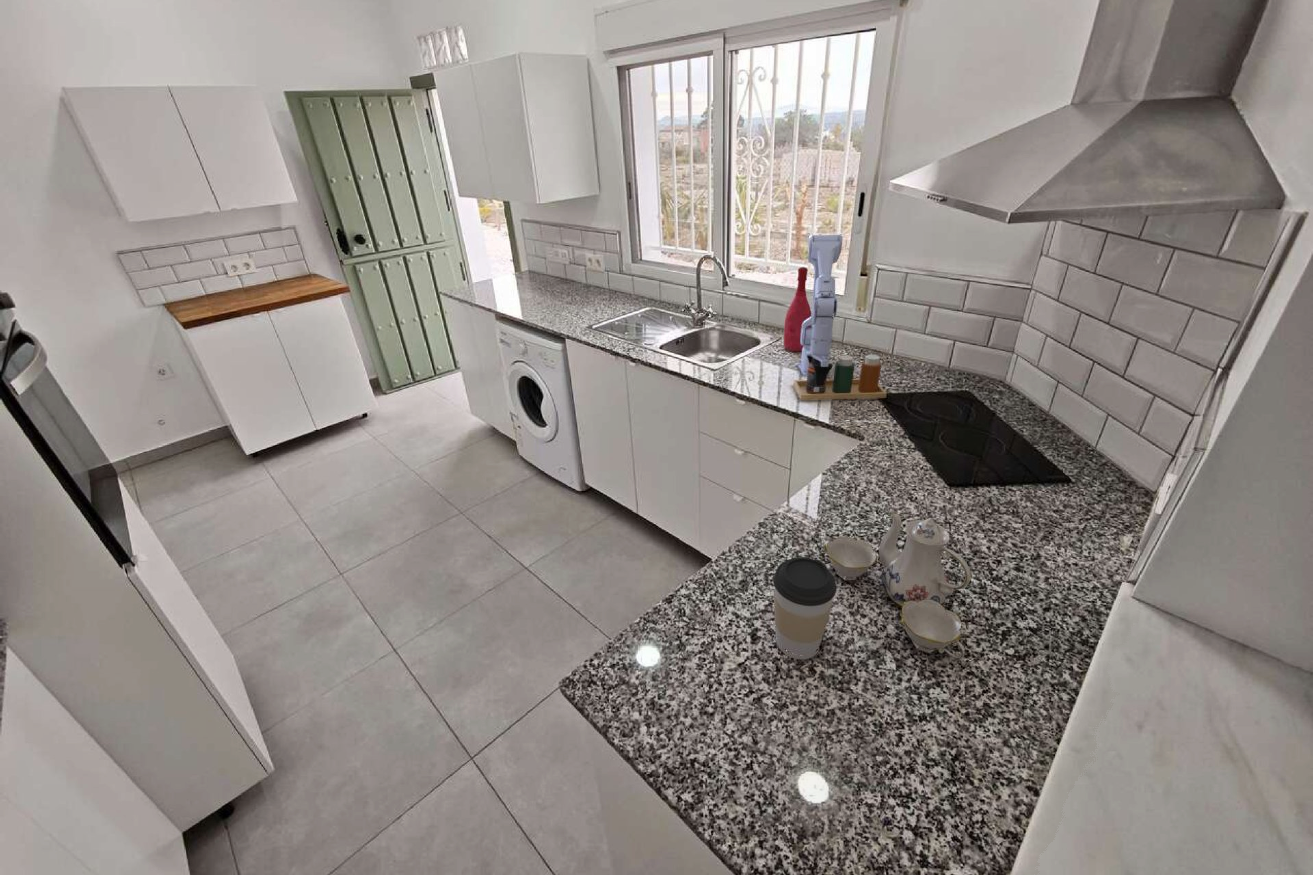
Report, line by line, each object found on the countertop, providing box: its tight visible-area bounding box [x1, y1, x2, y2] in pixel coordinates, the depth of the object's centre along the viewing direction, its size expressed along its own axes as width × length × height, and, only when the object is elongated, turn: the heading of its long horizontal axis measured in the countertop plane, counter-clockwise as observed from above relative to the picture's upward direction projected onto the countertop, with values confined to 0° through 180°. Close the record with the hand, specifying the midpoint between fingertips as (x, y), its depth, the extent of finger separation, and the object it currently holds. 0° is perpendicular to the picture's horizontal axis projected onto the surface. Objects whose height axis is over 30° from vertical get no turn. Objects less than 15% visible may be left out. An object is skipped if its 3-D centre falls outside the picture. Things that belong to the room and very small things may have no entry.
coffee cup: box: [772, 556, 837, 661], centre depth 82 cm, size 9×9×15 cm
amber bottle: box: [858, 354, 882, 393], centre depth 165 cm, size 6×6×11 cm
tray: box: [792, 378, 888, 401], centre depth 168 cm, size 12×26×2 cm, turn 88°
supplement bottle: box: [806, 357, 828, 394], centre depth 166 cm, size 6×6×11 cm
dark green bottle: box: [832, 354, 856, 393], centre depth 165 cm, size 6×6×11 cm
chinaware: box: [825, 509, 972, 660], centre depth 89 cm, size 28×17×17 cm, turn 29°
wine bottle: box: [783, 266, 813, 352], centre depth 198 cm, size 10×10×30 cm
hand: (816, 380), depth 167 cm, fingers open, 7 cm apart
